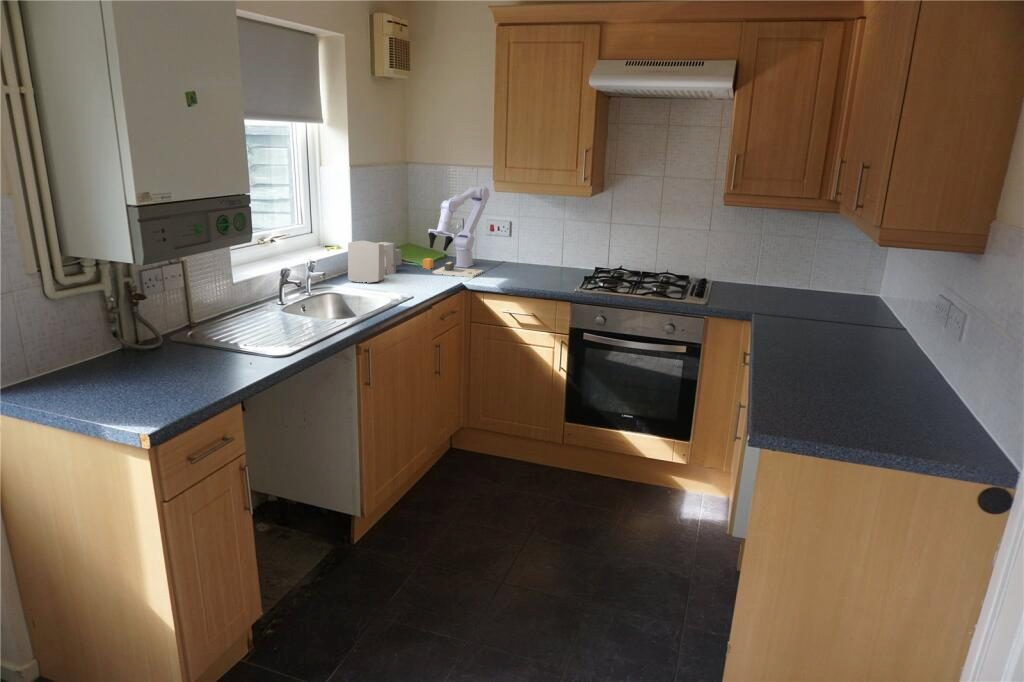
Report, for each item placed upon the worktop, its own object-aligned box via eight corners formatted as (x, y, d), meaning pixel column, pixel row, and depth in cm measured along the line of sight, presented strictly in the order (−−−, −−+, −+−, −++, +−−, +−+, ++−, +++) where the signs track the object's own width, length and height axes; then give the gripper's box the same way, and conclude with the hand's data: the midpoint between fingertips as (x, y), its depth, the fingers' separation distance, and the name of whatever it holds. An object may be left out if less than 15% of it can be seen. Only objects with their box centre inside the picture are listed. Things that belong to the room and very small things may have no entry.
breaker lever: (448, 267, 351) (448, 261, 350) (453, 268, 350) (453, 262, 349) (444, 269, 347) (444, 263, 346) (449, 270, 346) (449, 263, 345)
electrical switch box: (387, 282, 333) (387, 240, 330) (378, 284, 318) (378, 240, 315) (357, 280, 334) (358, 239, 331) (347, 282, 319) (348, 239, 316)
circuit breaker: (404, 271, 349) (403, 241, 344) (385, 275, 337) (384, 245, 333) (392, 269, 352) (392, 240, 348) (373, 273, 341) (372, 243, 336)
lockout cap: (426, 267, 359) (426, 258, 358) (433, 268, 358) (433, 258, 357) (422, 268, 356) (422, 259, 354) (429, 269, 354) (429, 260, 353)
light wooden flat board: (444, 268, 357) (444, 265, 356) (483, 272, 350) (483, 269, 350) (432, 273, 344) (432, 270, 344) (472, 277, 338) (472, 274, 337)
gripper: (428, 218, 344) (421, 244, 344) (454, 224, 340) (447, 250, 340) (434, 222, 351) (427, 247, 351) (459, 227, 347) (452, 253, 347)
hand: (437, 249), depth 346 cm, fingers open, 7 cm apart
